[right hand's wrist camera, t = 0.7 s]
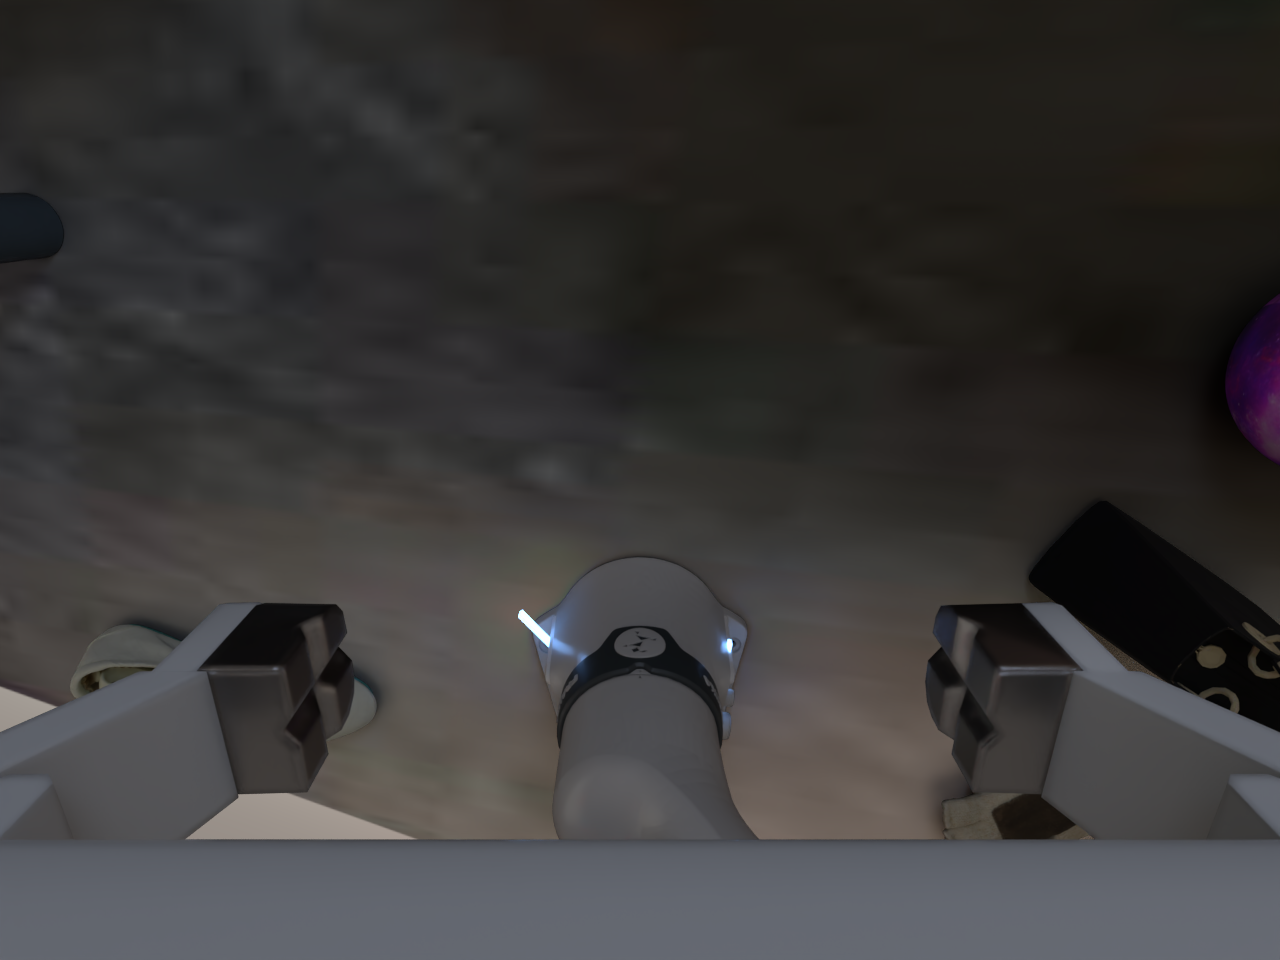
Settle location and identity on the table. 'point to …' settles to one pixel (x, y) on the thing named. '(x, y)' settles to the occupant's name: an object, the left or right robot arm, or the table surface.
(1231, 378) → the decorative orb
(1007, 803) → the pair of gloves
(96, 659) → the ballet flat
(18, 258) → the bottle
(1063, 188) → the table surface
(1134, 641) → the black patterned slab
